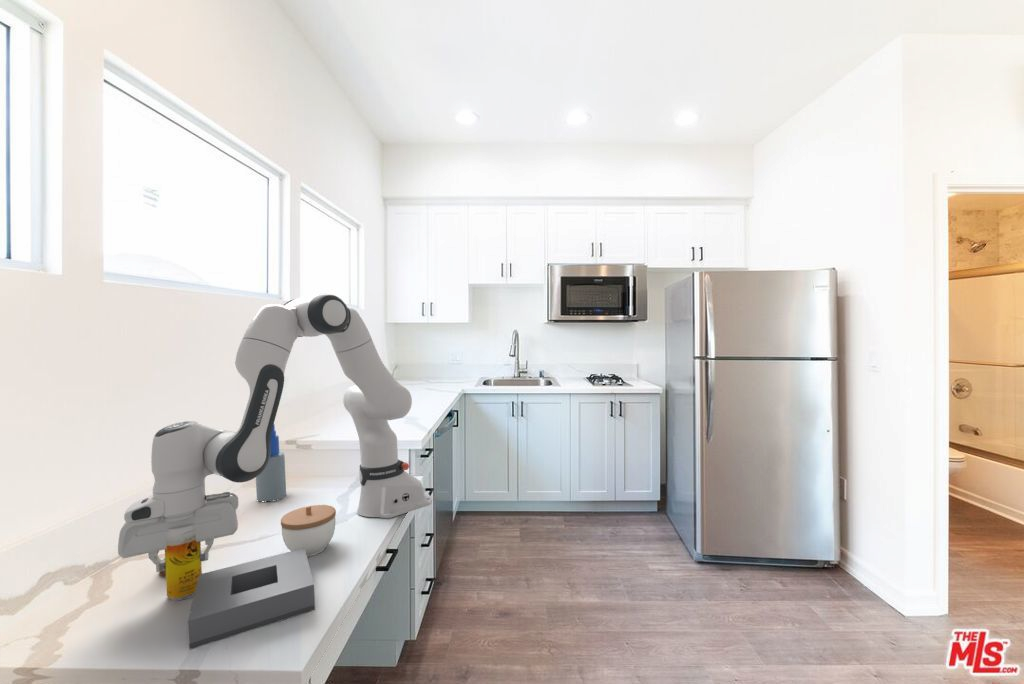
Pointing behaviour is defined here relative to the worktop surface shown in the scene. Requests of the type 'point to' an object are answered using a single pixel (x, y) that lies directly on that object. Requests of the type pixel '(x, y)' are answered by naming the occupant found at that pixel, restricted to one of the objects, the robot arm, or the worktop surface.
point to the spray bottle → (272, 474)
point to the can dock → (250, 596)
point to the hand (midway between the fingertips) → (183, 565)
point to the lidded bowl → (309, 528)
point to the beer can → (182, 562)
